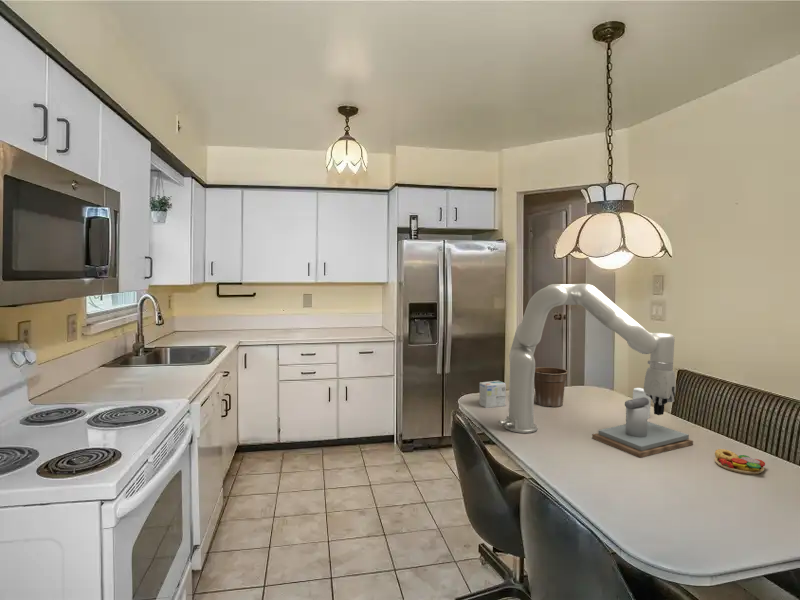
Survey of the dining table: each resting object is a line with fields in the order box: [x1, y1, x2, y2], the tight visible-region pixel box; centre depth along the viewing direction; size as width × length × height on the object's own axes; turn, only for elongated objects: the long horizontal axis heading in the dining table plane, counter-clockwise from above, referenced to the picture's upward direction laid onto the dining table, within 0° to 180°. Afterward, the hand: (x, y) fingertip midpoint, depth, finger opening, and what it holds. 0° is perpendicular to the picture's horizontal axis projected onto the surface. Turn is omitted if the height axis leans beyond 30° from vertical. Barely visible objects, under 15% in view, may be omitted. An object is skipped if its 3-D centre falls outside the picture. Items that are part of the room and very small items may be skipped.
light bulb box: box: [479, 380, 507, 409], centre depth 214 cm, size 11×7×11 cm, turn 111°
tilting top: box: [597, 397, 690, 451], centre depth 168 cm, size 25×18×14 cm
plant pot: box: [534, 366, 569, 408], centre depth 217 cm, size 16×16×16 cm
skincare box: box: [632, 387, 652, 419], centre depth 197 cm, size 6×4×12 cm
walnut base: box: [591, 432, 694, 458], centre depth 169 cm, size 28×20×2 cm
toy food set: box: [714, 448, 766, 475], centre depth 147 cm, size 13×13×3 cm
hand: (658, 414), depth 172 cm, fingers closed
